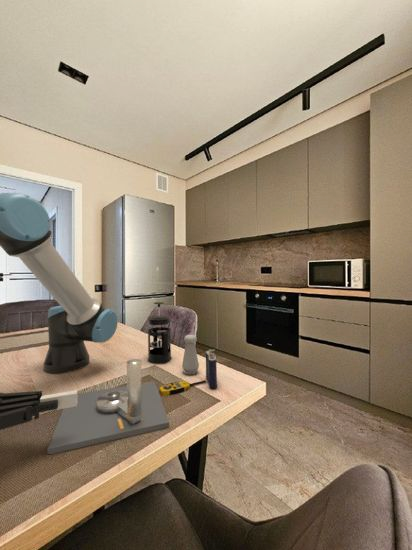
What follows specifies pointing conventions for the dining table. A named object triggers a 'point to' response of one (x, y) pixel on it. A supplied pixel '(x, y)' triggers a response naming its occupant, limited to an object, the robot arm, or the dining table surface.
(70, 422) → the plate
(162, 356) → the french press
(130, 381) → the silver faucet
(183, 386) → the yellow walkie-talkie
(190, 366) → the salt shaker
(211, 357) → the flask
